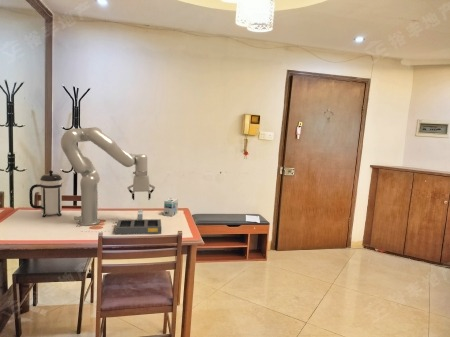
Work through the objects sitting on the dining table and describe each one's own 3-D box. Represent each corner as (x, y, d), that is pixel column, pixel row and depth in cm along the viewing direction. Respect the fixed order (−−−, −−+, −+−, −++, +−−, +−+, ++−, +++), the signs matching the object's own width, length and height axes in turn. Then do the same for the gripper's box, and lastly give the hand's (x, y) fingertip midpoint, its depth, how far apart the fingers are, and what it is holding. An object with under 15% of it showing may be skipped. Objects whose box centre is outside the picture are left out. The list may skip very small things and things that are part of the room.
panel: (137, 224, 209) (137, 214, 209) (137, 220, 219) (138, 209, 218) (142, 224, 210) (142, 214, 209) (142, 220, 220) (142, 209, 219)
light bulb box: (172, 216, 231) (173, 201, 229) (163, 215, 232) (164, 200, 231) (177, 213, 241) (178, 198, 240) (169, 212, 243) (169, 197, 241)
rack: (115, 234, 189) (115, 228, 189) (118, 225, 205) (118, 219, 204) (161, 234, 195) (161, 227, 194) (160, 225, 211) (160, 219, 210)
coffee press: (51, 210, 229) (50, 167, 225) (69, 213, 224) (68, 170, 220) (29, 216, 213) (27, 170, 209) (47, 220, 208) (46, 173, 204)
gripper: (126, 174, 205) (127, 201, 207) (155, 174, 209) (155, 200, 211) (127, 172, 212) (127, 198, 214) (155, 172, 216) (154, 198, 218)
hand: (141, 199), depth 213 cm, fingers open, 9 cm apart
